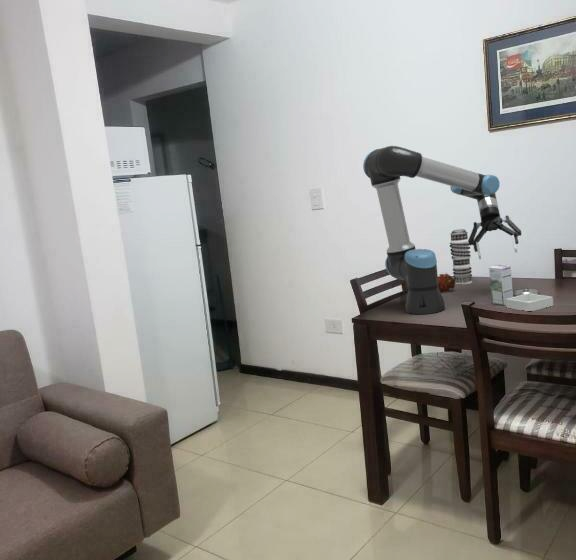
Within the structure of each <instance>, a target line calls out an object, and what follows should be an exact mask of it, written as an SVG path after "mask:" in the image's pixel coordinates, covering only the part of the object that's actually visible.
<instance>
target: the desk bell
mask: <svg viewBox="0 0 576 560" xmlns="http://www.w3.org/2000/svg"><path fill="white" fill-rule="evenodd" d="M528 293H529V294H536V295H541V292H539V291H538V289H534V288H522V289H517V290H515V291H514V293H513V297H516V296H520V295H524V294H528Z"/></svg>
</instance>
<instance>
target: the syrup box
mask: <svg viewBox="0 0 576 560" xmlns="http://www.w3.org/2000/svg"><path fill="white" fill-rule="evenodd" d="M488 270H489V280H490V281H489V282H490V293H491V304H492V305H493V304H494V305H501V306H506V299H508V298H512V297H513V294H514V293H513V291H514V289H513V279H512V277H513V276H512V268H511V265H510V264H509V265H508V264H507V265H506V264H496V265H492V266H489V267H488Z"/></svg>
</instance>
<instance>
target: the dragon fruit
mask: <svg viewBox="0 0 576 560" xmlns="http://www.w3.org/2000/svg"><path fill="white" fill-rule="evenodd" d="M455 285H457V284H456V283H455V281H454V278H453V276H451V275H450V274H448V273H444V274H443V273H440V274H439V275H438V286H439V291H440V293H442V292H443V291H445V292H450V290H452V289H454V288H455V287H456V286H455Z"/></svg>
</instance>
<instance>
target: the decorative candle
mask: <svg viewBox="0 0 576 560" xmlns="http://www.w3.org/2000/svg"><path fill="white" fill-rule="evenodd" d="M468 233H469V232H468V231H467V230H466V229H464V228H462V229H454V230H452V231H451V233H450V242H449V248H450V250H449V251H450V255H451V260H452V262H453V264H452V267H453V268H452V271H453V272H452V274H453V276H452V277H453V278H454V281H455V283H456V284H455V285H458V284H462V285H469V284H472V283H473V274H472V267H471V262H470V258H471V257H472V255H471V251H469V250H470V249H471V246H470V245H469V243H468V240H469V236H468Z"/></svg>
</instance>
